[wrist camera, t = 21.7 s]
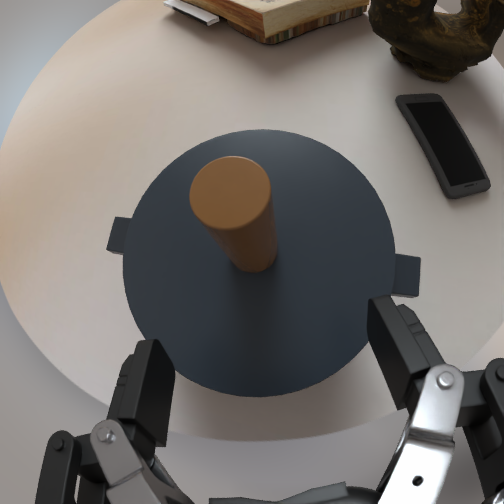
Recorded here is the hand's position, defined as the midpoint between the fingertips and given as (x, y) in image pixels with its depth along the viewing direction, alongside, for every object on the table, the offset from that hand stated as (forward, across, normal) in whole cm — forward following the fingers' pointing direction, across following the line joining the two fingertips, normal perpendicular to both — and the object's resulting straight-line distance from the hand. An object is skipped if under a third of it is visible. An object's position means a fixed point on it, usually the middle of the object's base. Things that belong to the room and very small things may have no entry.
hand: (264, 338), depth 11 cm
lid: (+6, 0, 0) cm, 7 cm away
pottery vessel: (+31, -30, -11) cm, 44 cm away
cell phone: (+21, -23, -1) cm, 31 cm away
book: (+46, -8, -26) cm, 53 cm away
